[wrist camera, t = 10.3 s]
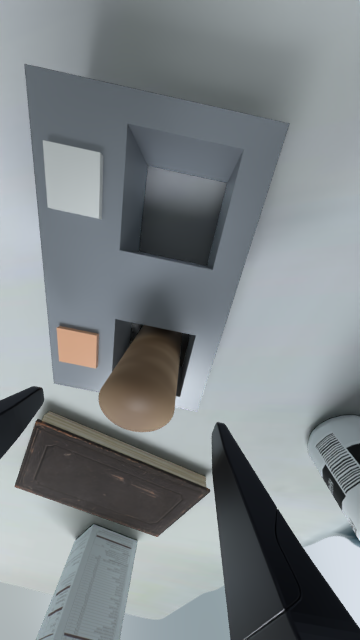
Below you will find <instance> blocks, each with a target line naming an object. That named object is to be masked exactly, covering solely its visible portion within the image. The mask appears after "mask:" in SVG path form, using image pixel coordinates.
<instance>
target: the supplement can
mask: <svg viewBox="0 0 360 640" xmlns="http://www.w3.org/2000/svg"><path fill="white" fill-rule="evenodd" d="M307 448H308V454H309V456H310V457H311V459H312V461H313V463H314V464H315V466H316V468H317V469H318V471H319V473H320V474H321V476H322V478H323V479H324V481H325V483H326V485H327V486H328V488H329V490H330V491H331V493H332V495H333V496H334V498H335V500H336V501H337V503H338V505H339V507H340V508H341V510H342V512H343V513H344V515H345V517H346V518H347V520H348V522H349V523H350V525H351V527H352V529H353V530H354V532H355V534H356V535H357V537H358V539H359V540H360V416H356V415H344V416H339V417H335V418H331V419H329V420H327V421H325V422H323V423H321V424H319V425H318V426H317V427H316V428H315V429H314V430H313V431H312V433H311V435H310V437H309V442H308V444H307Z"/></svg>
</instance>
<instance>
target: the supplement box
mask: <svg viewBox="0 0 360 640" xmlns="http://www.w3.org/2000/svg"><path fill="white" fill-rule="evenodd" d="M136 547H137V540H134V539H131V538H128V537H126V536H123V535H121V534H118V533H116V532H113V531H110V530H108V529H105V528H103V527H100V526H97V525H94V524H93V525H92V526H91V527H90V528H89V529H88V530H87V531H85V532H84V533H83V534H82V535H81V536H80V537H79V538H78V539H77V540H75V542H74V544H73V547H72V550H71V552H70V555H69V557H68V560H67V562H66V565H65V567H64V570H63V572H62V575H61V577H60V580H59V582H58V585H57V587H56V590H55V593H54V595H53V598H52V600H51V603H50V605H49V608H48V610H47V613H46V615H45V618H44V620H43V623H42V625H41V628H40V630H39V633H38V636H37V638H36V640H120V635H121V629H122V623H123V618H124V613H125V607H126V602H127V597H128V591H129V586H130V580H131V575H132V569H133V564H134V558H135V553H136Z"/></svg>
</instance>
